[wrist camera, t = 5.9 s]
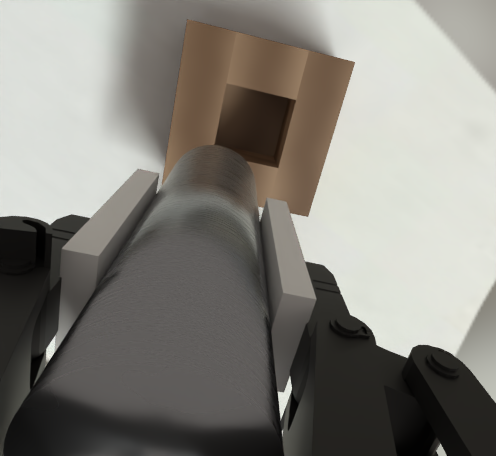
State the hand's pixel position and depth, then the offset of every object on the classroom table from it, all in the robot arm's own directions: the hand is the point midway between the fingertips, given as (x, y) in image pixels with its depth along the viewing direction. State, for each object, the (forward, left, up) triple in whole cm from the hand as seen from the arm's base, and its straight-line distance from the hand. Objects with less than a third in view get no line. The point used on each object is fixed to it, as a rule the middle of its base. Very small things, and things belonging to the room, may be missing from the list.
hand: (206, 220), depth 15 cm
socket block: (+2, +1, -22) cm, 22 cm away
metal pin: (0, 0, -4) cm, 4 cm away
